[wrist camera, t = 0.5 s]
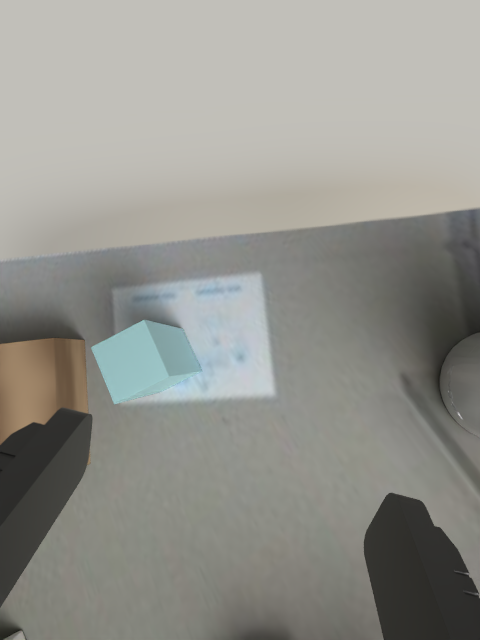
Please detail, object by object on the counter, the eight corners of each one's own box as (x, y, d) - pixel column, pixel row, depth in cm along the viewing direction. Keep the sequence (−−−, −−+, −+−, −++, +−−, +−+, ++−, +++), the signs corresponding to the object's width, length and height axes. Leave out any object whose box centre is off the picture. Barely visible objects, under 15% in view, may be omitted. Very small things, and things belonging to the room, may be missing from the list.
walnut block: (86, 340, 36) (53, 337, 32) (92, 462, 35) (59, 479, 30) (-18, 351, 38) (-64, 351, 33) (-16, 468, 37) (-64, 486, 32)
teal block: (183, 328, 35) (144, 319, 26) (202, 371, 34) (169, 376, 25) (142, 349, 35) (91, 347, 26) (161, 391, 34) (114, 404, 26)
